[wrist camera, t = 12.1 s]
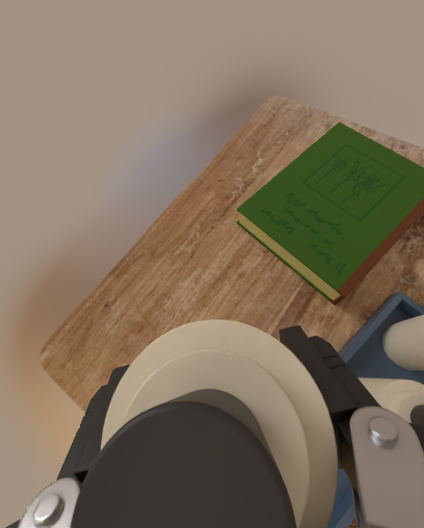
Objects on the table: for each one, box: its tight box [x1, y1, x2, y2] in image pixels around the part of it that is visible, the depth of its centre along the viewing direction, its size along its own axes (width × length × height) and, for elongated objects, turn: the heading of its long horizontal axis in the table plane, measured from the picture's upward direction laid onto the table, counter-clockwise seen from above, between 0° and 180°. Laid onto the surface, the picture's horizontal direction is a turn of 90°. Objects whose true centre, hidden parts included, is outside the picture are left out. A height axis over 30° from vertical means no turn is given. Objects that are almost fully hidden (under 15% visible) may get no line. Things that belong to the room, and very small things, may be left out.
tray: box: [327, 291, 424, 528], centre depth 28 cm, size 30×10×3 cm, turn 132°
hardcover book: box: [237, 122, 424, 305], centre depth 38 cm, size 25×19×4 cm
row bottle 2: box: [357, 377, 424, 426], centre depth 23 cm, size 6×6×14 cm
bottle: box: [70, 319, 338, 528], centre depth 9 cm, size 6×6×14 cm
